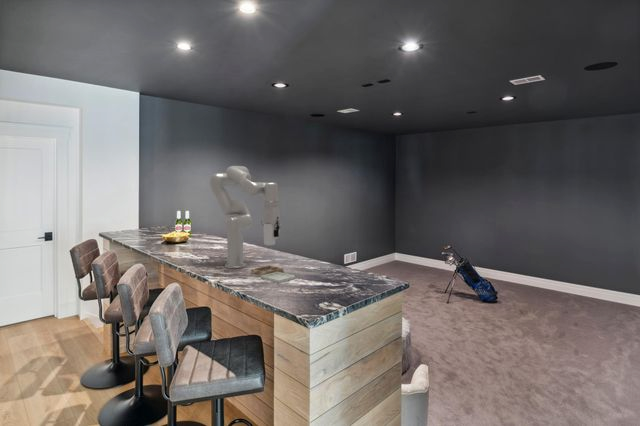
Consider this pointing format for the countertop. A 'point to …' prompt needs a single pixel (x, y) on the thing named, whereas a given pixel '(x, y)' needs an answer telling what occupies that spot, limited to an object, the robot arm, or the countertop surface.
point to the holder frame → (259, 270)
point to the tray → (278, 277)
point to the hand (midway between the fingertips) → (271, 236)
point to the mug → (269, 234)
